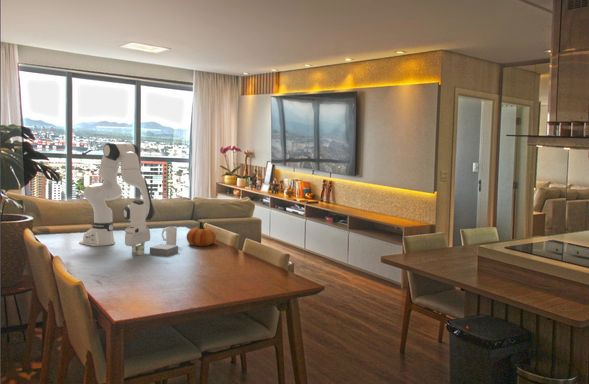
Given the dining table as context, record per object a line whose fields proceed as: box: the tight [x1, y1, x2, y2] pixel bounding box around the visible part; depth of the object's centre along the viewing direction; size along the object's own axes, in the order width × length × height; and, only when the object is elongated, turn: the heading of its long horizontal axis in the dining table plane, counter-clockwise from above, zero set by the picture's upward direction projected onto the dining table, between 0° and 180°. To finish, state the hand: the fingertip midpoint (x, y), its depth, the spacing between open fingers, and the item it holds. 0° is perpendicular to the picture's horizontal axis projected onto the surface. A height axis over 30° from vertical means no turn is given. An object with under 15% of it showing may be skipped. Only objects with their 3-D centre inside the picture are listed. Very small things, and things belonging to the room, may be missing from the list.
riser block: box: [149, 243, 179, 257], centre depth 304 cm, size 12×12×4 cm
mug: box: [161, 226, 178, 246], centre depth 326 cm, size 10×7×12 cm, turn 77°
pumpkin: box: [186, 221, 217, 247], centre depth 332 cm, size 19×19×15 cm
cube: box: [131, 244, 145, 256], centre depth 299 cm, size 5×5×5 cm
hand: (138, 250), depth 299 cm, fingers closed on cube, 5 cm apart
